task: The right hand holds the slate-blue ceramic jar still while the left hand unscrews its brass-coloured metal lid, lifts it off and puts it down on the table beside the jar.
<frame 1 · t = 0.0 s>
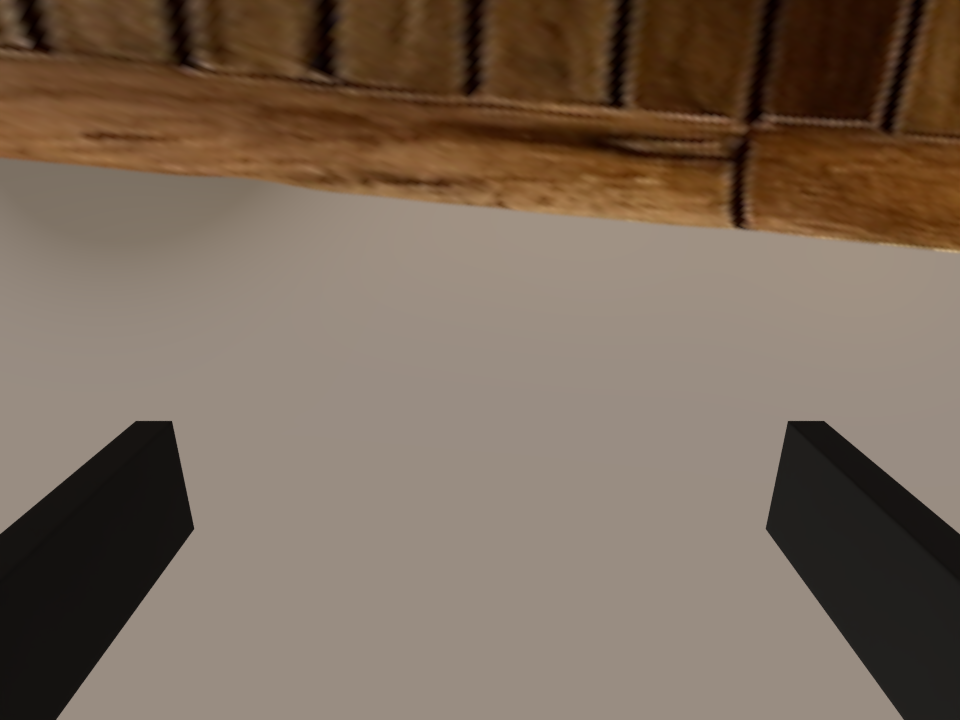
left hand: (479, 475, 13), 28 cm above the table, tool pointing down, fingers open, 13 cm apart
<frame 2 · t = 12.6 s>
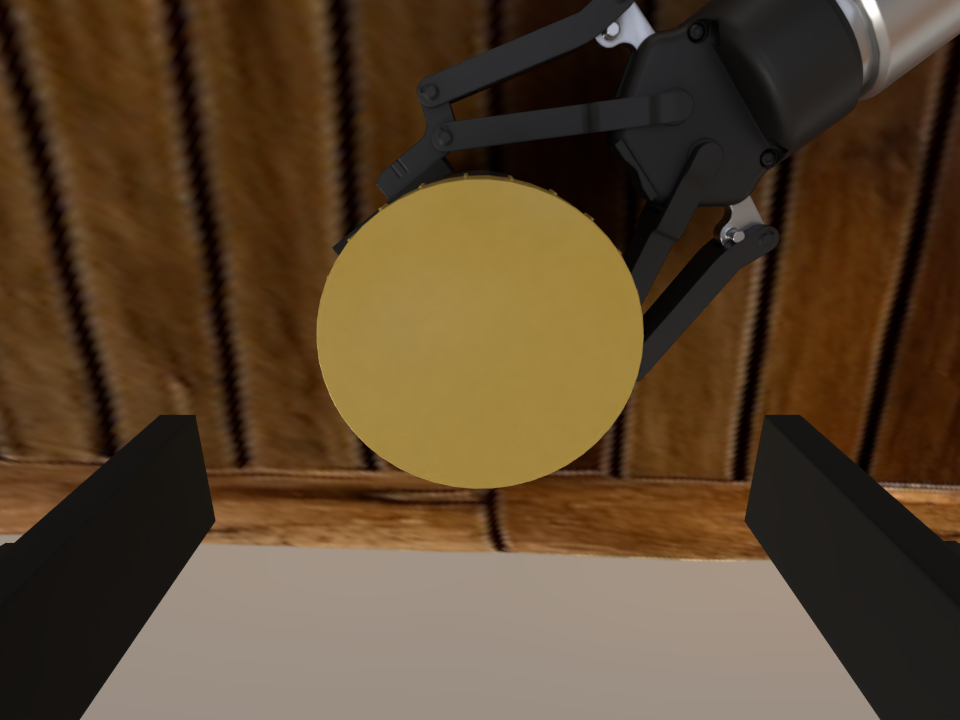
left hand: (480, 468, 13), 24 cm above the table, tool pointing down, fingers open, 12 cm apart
right hand: (414, 332, 30), fingers closed on jar, 10 cm apart
lid: (480, 345, 21), point 16 cm above the table, screwed on, not yet turned
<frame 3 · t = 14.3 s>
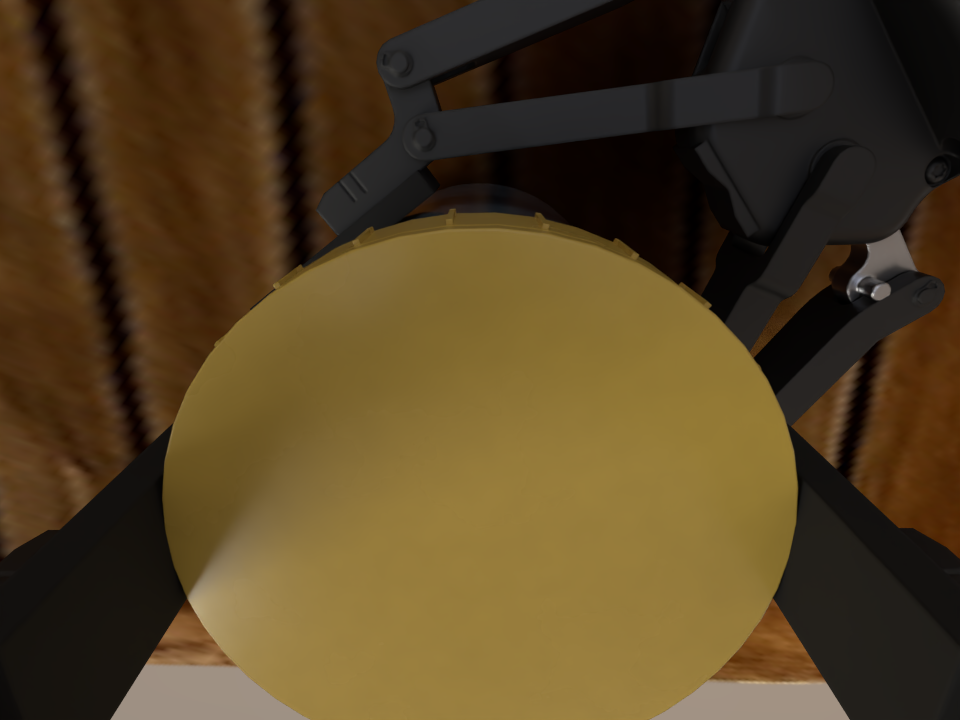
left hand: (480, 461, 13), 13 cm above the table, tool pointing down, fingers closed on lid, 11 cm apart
right hand: (383, 425, 21), fingers closed on jar, 10 cm apart
lid: (480, 533, 11), point 16 cm above the table, screwed on, not yet turned, touching left hand
jar: (479, 303, 26), on the table, touching right hand
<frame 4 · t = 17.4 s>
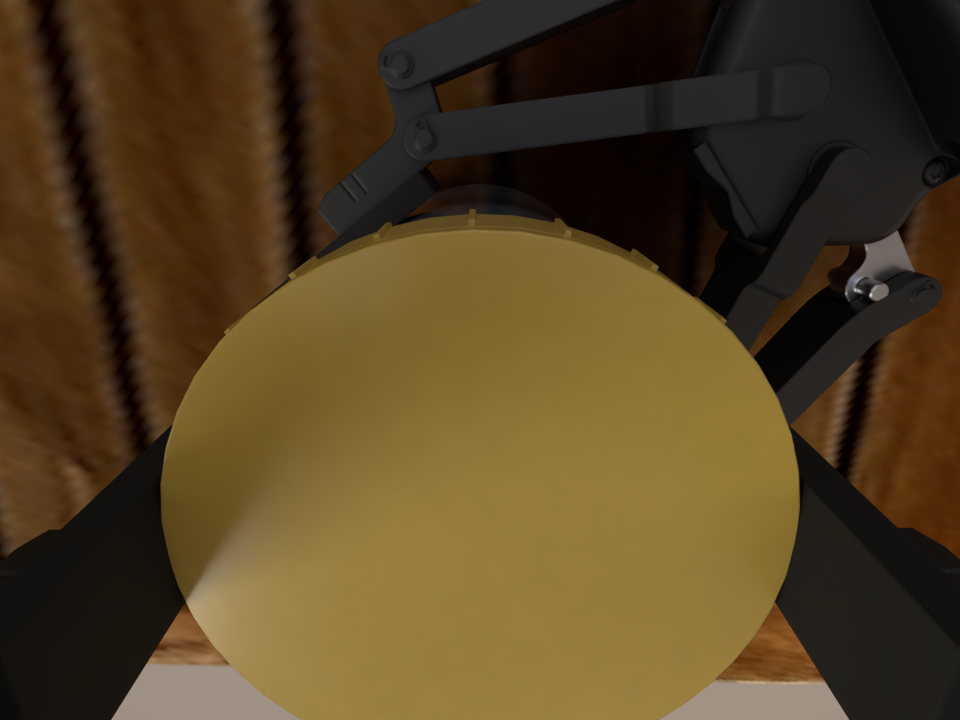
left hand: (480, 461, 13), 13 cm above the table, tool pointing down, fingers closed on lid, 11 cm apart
right hand: (383, 424, 21), fingers closed on jar, 10 cm apart
lid: (480, 536, 11), point 16 cm above the table, turned 72° so far, risen 0.2 cm, still on its thread, touching left hand
jar: (480, 304, 26), on the table, touching right hand
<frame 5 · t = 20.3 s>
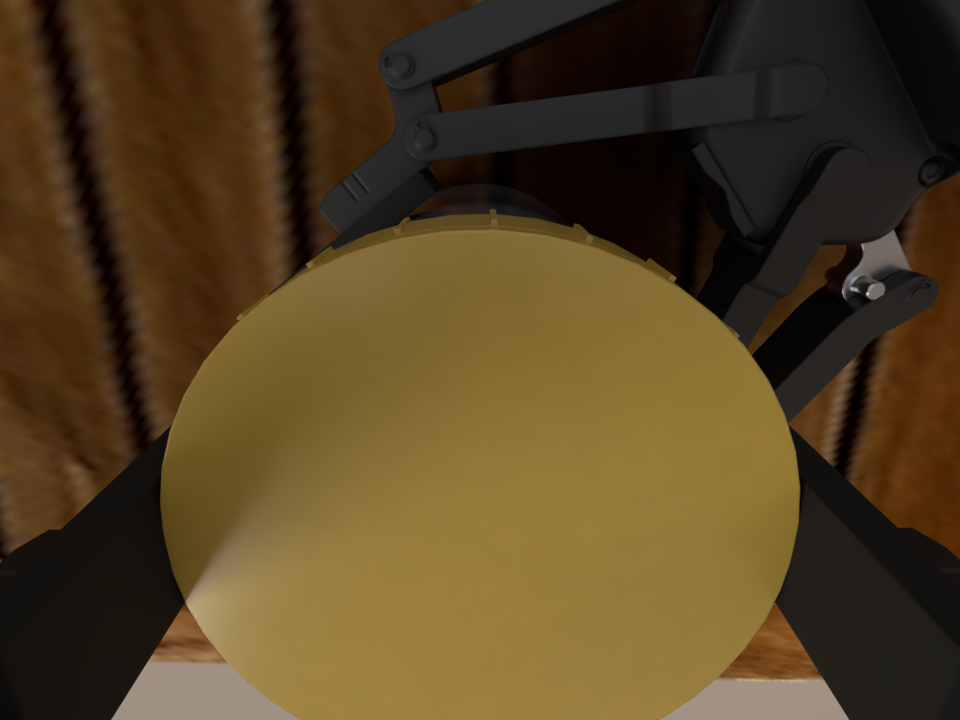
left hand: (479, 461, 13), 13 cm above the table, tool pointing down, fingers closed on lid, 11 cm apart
right hand: (384, 422, 21), fingers closed on jar, 10 cm apart
lid: (480, 536, 11), point 16 cm above the table, turned 143° so far, risen 0.3 cm, still on its thread, touching left hand
jar: (479, 303, 26), on the table, touching right hand
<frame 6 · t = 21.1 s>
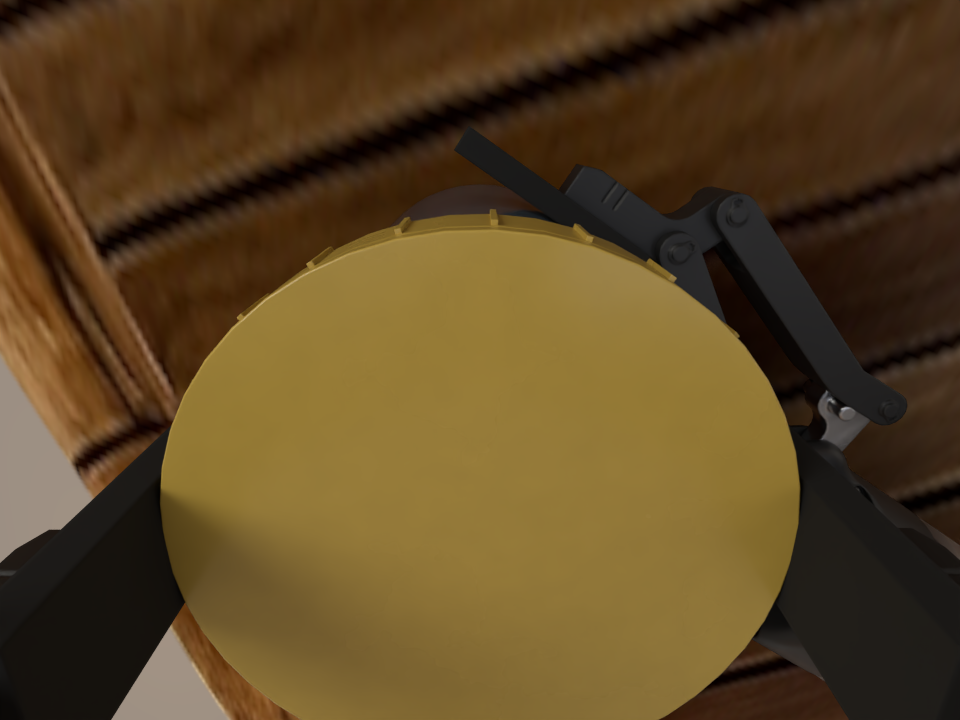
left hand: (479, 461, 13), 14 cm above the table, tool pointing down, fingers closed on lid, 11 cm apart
lid: (480, 536, 11), point 16 cm above the table, off its thread, touching left hand
jar: (480, 303, 26), on the table, touching right hand
when the left hand's fingers open (0 cm above the table, at t = 26.0 s): lid drops 2 cm, point 2 cm above the table.
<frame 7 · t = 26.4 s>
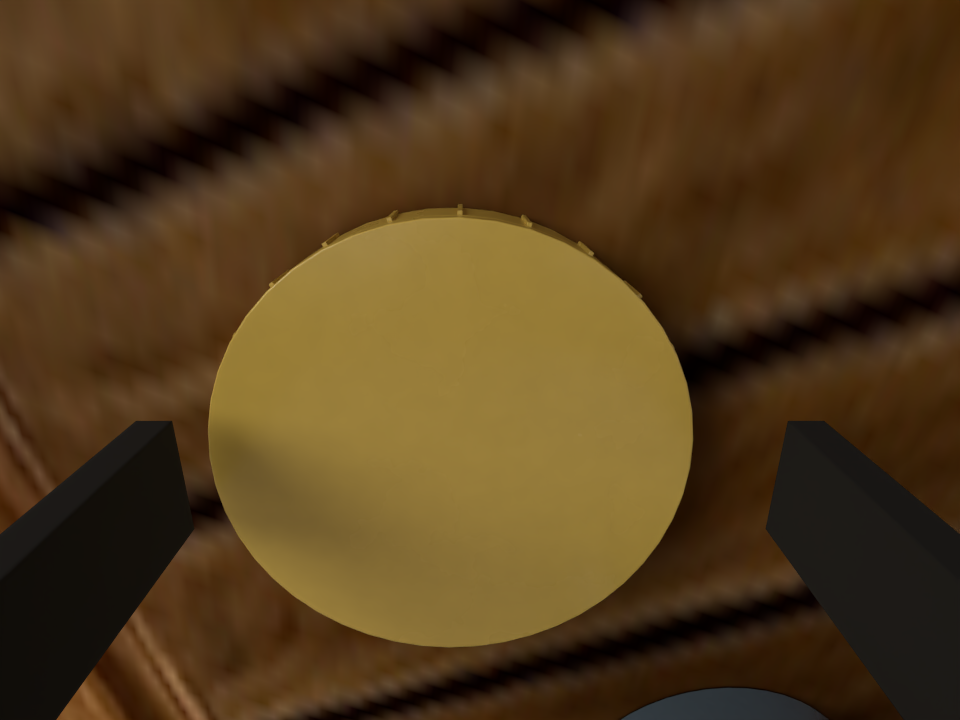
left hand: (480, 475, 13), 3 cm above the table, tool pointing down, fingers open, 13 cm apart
lid: (453, 455, 14), point 2 cm above the table, off its thread
when the right hand's fingers open (6 cm above the table, at t = 27.0 s): jar stays where it is, on the table.
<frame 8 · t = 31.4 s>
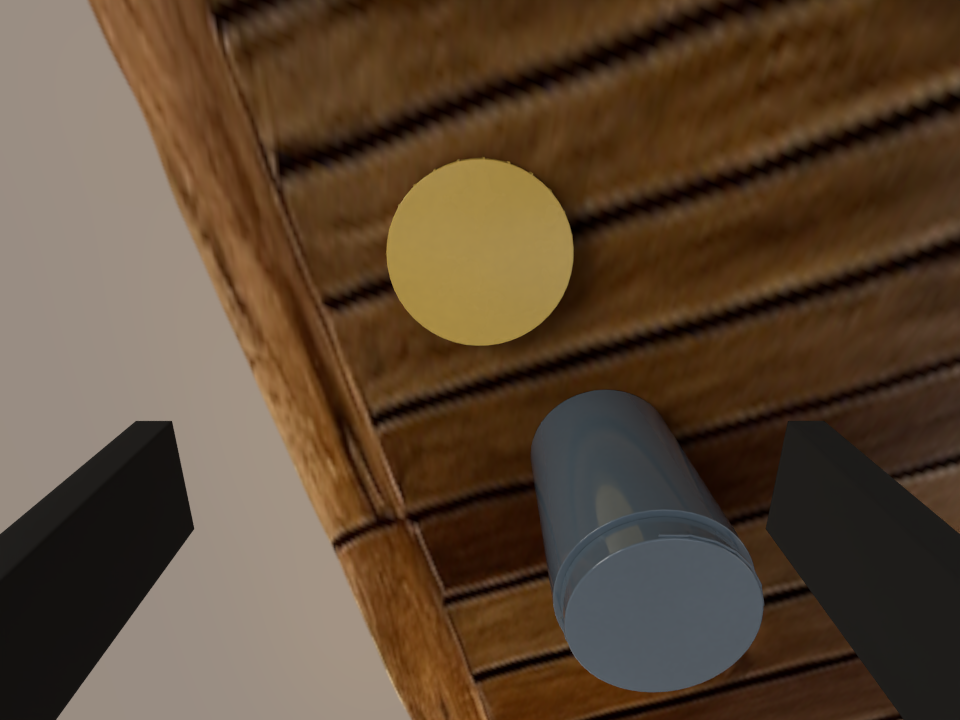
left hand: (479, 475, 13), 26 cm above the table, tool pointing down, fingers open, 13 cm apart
lid: (480, 256, 36), point 2 cm above the table, off its thread
jar: (600, 453, 43), on the table
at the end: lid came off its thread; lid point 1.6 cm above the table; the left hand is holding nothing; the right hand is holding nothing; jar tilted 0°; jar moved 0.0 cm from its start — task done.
